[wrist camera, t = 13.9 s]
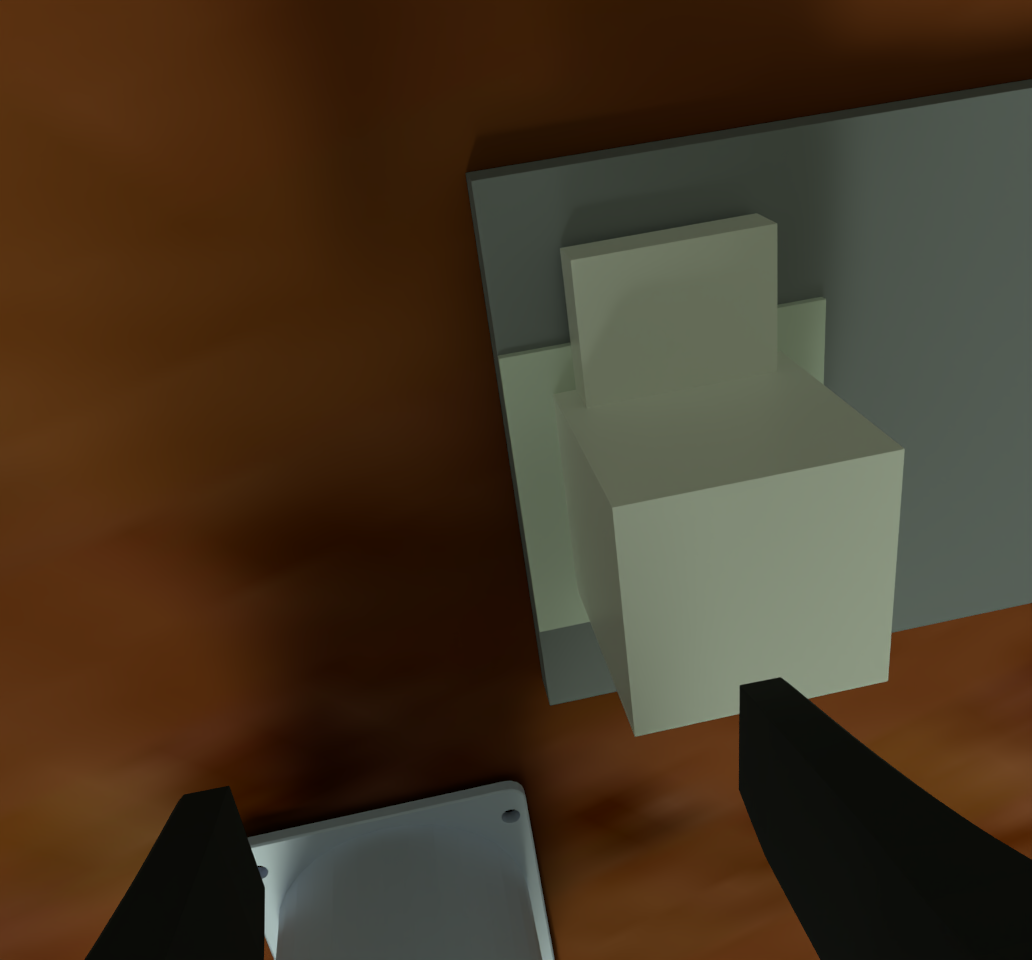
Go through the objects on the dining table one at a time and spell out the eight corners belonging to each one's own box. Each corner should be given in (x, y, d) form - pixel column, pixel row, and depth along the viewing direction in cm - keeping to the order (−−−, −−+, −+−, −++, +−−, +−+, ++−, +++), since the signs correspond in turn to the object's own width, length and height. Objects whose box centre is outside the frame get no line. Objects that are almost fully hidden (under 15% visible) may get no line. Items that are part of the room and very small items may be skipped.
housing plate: (1270, 526, 26) (1337, 564, 24) (542, 680, 24) (557, 732, 22) (1424, 13, 20) (1529, 14, 18) (465, 172, 18) (477, 190, 16)
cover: (780, 546, 22) (887, 681, 18) (577, 588, 22) (635, 736, 17) (781, 208, 18) (917, 271, 14) (534, 252, 18) (594, 331, 13)
